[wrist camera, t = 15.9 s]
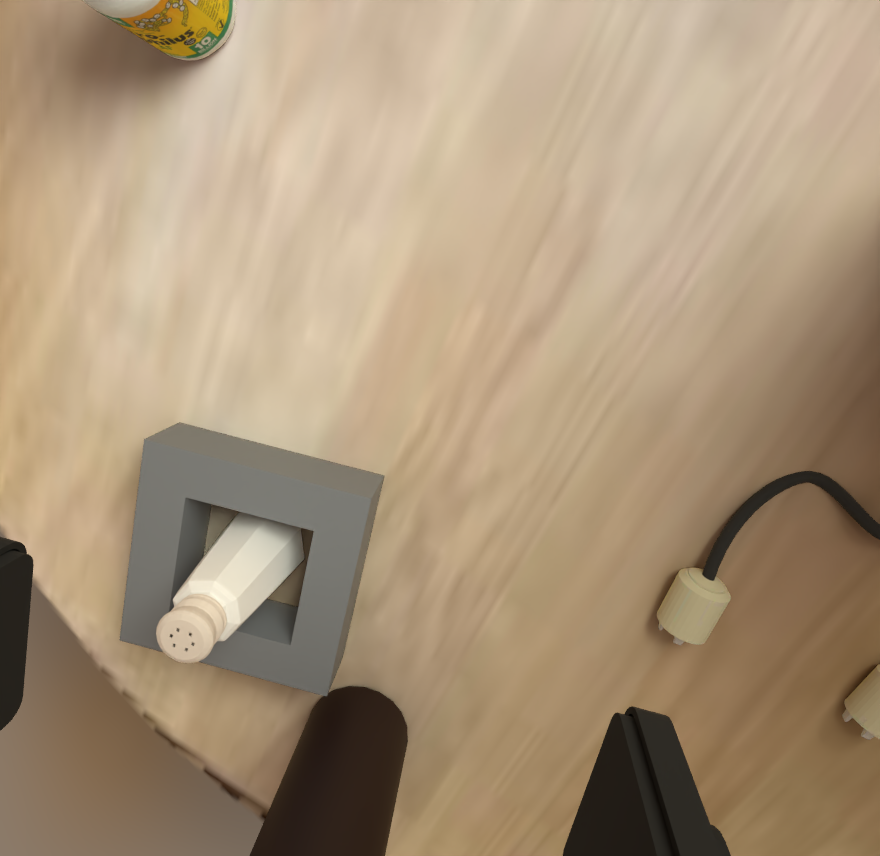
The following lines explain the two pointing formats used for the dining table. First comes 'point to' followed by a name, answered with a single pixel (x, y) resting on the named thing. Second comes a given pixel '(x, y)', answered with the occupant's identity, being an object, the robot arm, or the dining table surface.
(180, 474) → the frame
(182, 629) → the pepper shaker
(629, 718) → the robot arm
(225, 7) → the supplement bottle
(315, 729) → the dark brown water bottle
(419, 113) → the dining table surface
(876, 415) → the dining table surface
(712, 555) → the cable
